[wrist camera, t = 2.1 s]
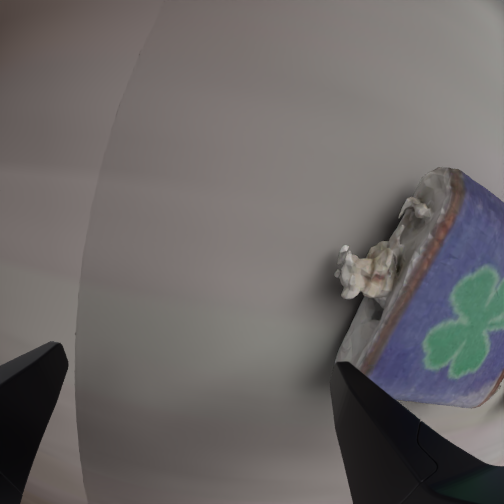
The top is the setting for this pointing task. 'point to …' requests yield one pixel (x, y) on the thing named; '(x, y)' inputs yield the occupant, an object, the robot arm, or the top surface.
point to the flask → (432, 297)
